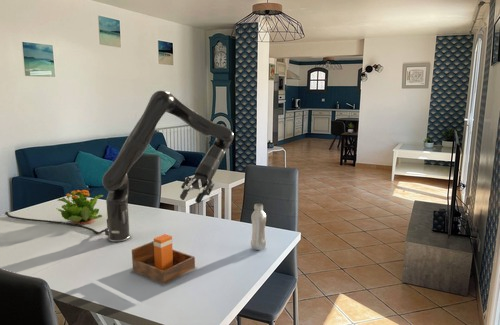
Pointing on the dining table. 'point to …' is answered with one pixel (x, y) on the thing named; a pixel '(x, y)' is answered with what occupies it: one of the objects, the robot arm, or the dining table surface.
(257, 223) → the plastic bottle
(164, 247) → the packet
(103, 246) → the dining table surface
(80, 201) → the potted flower
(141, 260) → the drawer
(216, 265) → the dining table surface
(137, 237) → the dining table surface
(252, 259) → the dining table surface
